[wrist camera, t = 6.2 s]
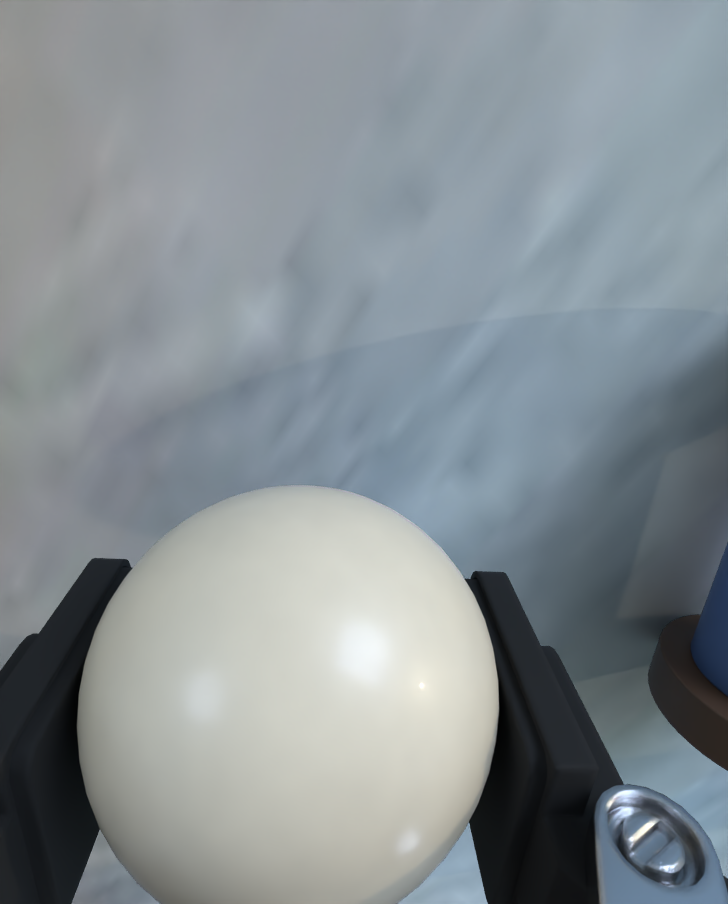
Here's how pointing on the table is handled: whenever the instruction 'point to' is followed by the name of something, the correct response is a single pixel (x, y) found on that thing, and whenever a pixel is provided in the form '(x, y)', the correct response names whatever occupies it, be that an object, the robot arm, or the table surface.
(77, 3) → the table surface
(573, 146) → the table surface
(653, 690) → the blue doll
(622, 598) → the table surface
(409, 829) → the green doll
